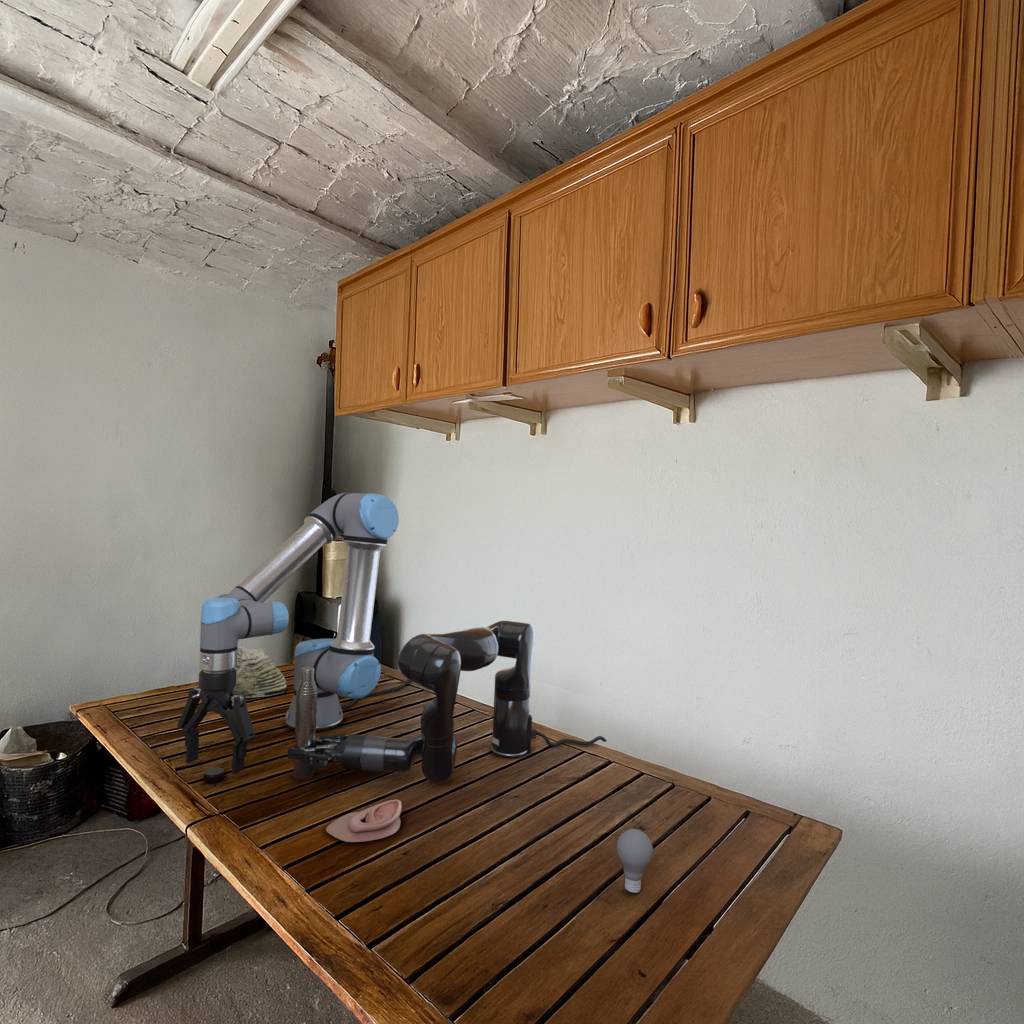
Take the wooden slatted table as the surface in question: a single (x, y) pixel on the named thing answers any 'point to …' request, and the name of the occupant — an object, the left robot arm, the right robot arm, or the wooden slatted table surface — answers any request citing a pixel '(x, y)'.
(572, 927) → the wooden slatted table surface
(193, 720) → the left robot arm
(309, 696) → the bottle
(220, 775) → the cap
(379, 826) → the anatomical model
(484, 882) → the wooden slatted table surface
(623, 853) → the light bulb
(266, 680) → the fossil
